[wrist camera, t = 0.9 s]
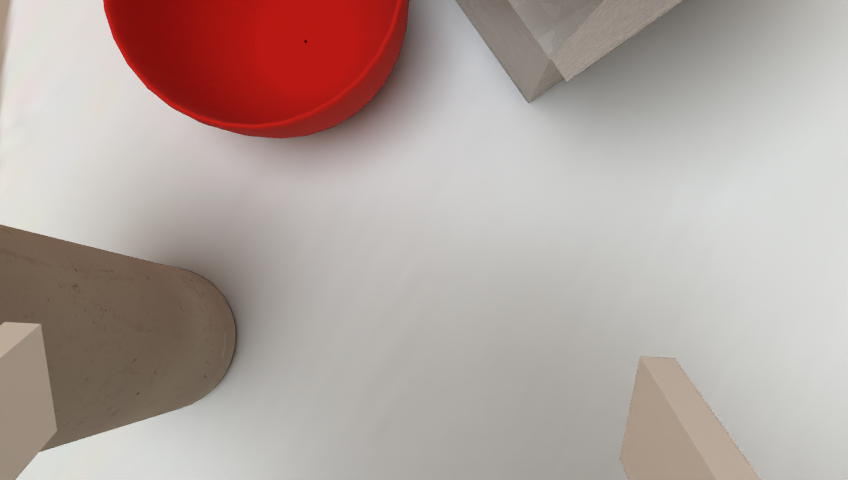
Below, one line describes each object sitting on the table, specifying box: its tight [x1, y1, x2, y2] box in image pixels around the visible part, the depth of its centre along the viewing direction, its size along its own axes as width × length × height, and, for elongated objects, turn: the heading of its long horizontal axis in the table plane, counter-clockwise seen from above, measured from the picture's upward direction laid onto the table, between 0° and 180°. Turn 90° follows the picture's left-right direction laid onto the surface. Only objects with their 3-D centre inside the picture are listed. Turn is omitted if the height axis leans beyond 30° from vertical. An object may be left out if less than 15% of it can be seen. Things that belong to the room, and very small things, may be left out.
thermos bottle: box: [0, 225, 236, 452], centre depth 23 cm, size 8×8×28 cm
